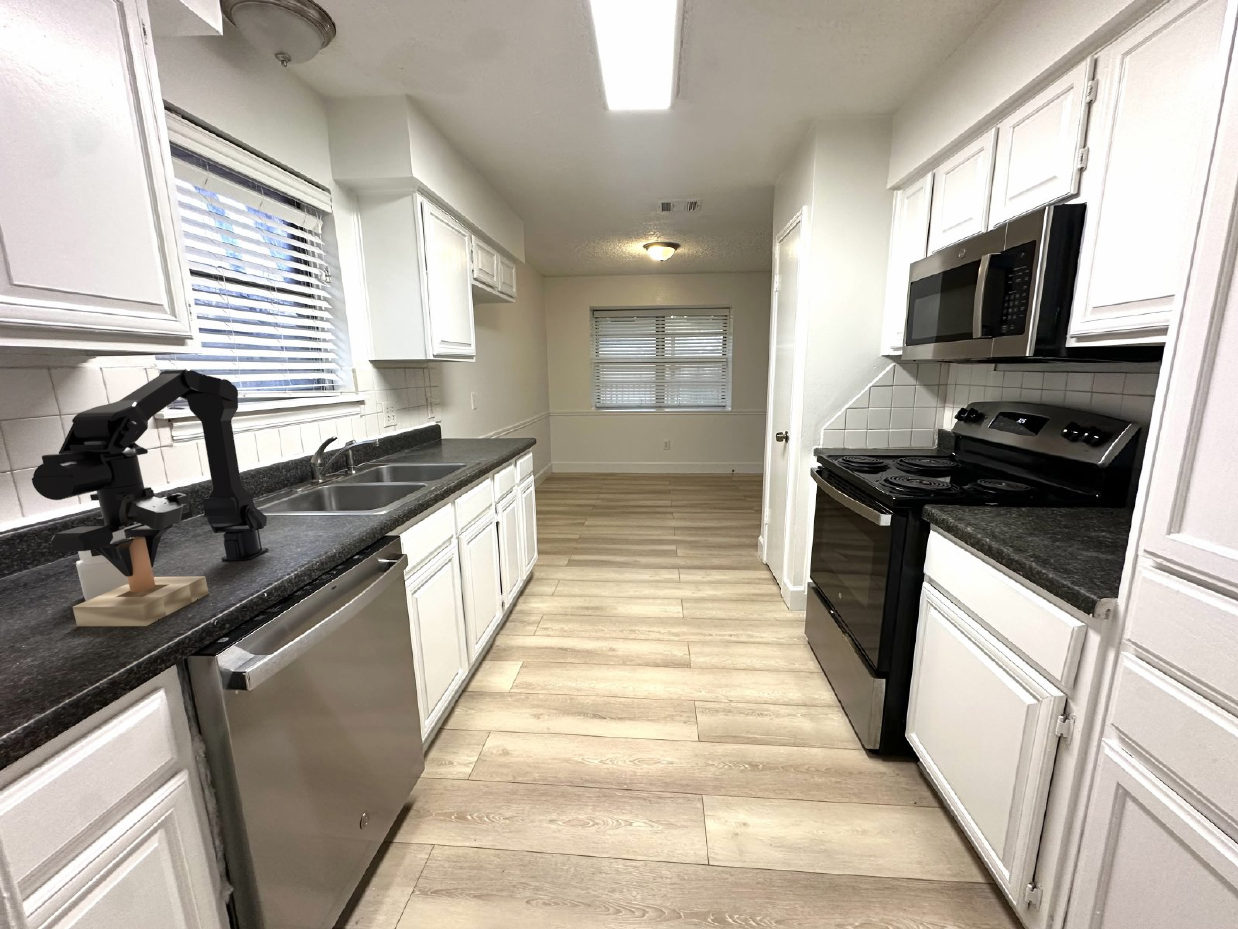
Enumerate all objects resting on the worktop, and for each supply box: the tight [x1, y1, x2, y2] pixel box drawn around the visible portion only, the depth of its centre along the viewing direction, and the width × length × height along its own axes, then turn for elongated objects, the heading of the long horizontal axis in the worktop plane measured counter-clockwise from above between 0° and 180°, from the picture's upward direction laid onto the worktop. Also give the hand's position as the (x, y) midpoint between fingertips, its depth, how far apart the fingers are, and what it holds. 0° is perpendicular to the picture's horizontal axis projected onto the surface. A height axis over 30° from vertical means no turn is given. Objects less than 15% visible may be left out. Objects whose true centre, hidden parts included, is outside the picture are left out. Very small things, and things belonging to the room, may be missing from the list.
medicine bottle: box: [75, 549, 129, 601], centre depth 93 cm, size 7×7×12 cm
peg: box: [127, 536, 155, 592], centre depth 86 cm, size 3×3×9 cm
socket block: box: [72, 575, 209, 627], centre depth 87 cm, size 12×12×4 cm
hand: (139, 572), depth 87 cm, fingers closed on peg, 3 cm apart
